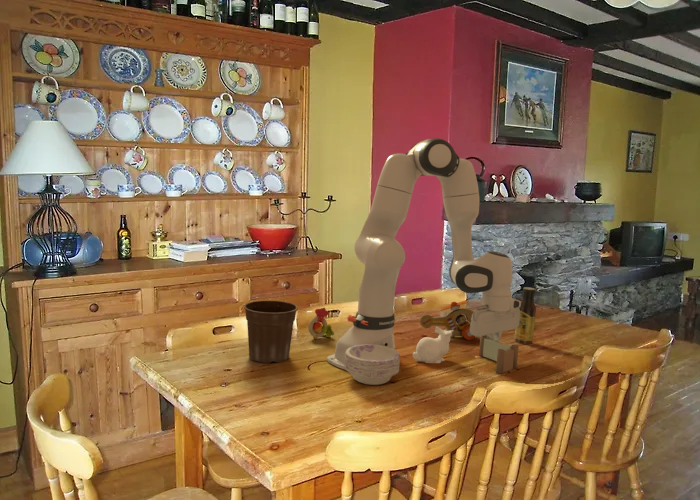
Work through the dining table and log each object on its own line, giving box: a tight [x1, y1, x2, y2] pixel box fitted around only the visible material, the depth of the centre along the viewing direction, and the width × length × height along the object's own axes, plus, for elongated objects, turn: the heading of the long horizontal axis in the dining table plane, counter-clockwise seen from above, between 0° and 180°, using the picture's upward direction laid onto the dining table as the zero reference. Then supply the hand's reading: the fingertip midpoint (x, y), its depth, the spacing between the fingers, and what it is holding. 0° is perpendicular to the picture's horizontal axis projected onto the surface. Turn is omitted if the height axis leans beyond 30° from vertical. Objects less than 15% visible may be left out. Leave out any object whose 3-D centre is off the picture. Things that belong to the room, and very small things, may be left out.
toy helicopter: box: [419, 300, 476, 341], centre depth 203 cm, size 8×21×14 cm, turn 97°
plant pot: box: [243, 299, 299, 364], centre depth 173 cm, size 16×16×16 cm
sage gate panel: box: [478, 335, 512, 362], centre depth 177 cm, size 12×2×7 cm, turn 35°
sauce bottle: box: [514, 286, 537, 345], centre depth 199 cm, size 7×6×20 cm
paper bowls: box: [344, 344, 401, 386], centre depth 158 cm, size 15×15×8 cm
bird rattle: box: [307, 307, 335, 340], centre depth 196 cm, size 6×11×9 cm
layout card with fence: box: [474, 344, 519, 375], centre depth 177 cm, size 23×18×7 cm
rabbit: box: [412, 326, 454, 364], centre depth 174 cm, size 12×9×12 cm
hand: (493, 345), depth 181 cm, fingers closed
